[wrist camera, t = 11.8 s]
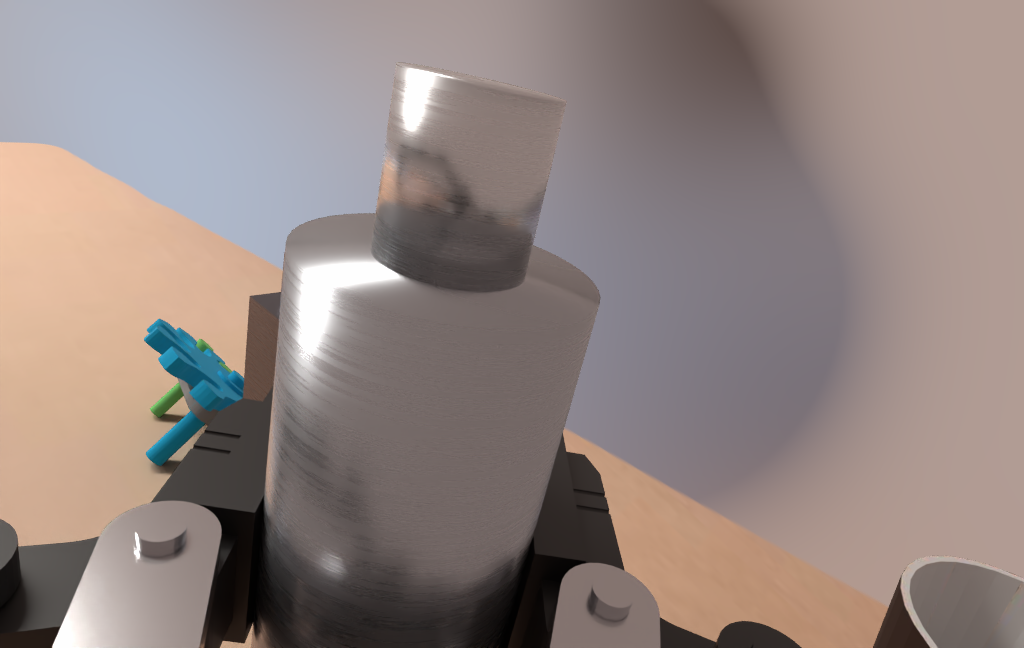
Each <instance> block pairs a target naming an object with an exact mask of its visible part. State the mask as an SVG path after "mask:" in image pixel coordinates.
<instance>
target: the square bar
mask: <svg viewBox="0 0 1024 648" xmlns="http://www.w3.org/2000/svg"><path fill="white" fill-rule="evenodd" d="M284 259H285V254H284ZM283 271H284V265H283ZM282 283H283V276H282ZM281 294H282V288H281V292H278V293H270V294H262V295H254V296H250V301H249V316H248V330H247V345H246V360H245V375H244V390H243V398H244V399H250V400H256V401H262V402H263V401H264V399H265V397H266V396H267V394H268V393H269V391H270V390H271V388H272V386H273V385H274V375H275V364H276V352H277V341H278V329H279V317H280V306H281Z"/></svg>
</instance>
